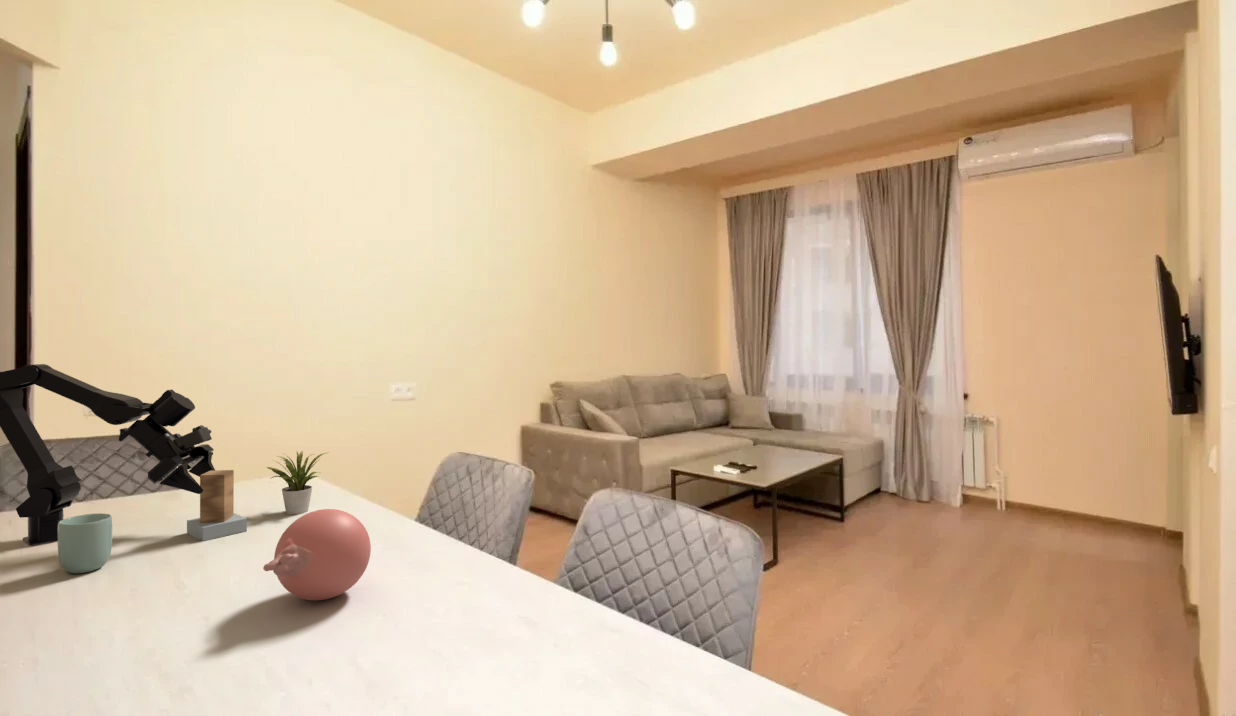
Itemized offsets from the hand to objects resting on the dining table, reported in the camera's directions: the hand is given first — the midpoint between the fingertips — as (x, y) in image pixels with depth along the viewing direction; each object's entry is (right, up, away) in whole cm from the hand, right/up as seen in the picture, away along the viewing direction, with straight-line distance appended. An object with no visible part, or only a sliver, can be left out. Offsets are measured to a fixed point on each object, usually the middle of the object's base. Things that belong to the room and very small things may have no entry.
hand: (210, 487), depth 140 cm
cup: (-9, -11, -23) cm, 27 cm away
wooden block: (+1, -8, 0) cm, 8 cm away
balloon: (+42, -12, -35) cm, 56 cm away
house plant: (+11, -10, +19) cm, 25 cm away
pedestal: (+1, -10, +1) cm, 11 cm away
